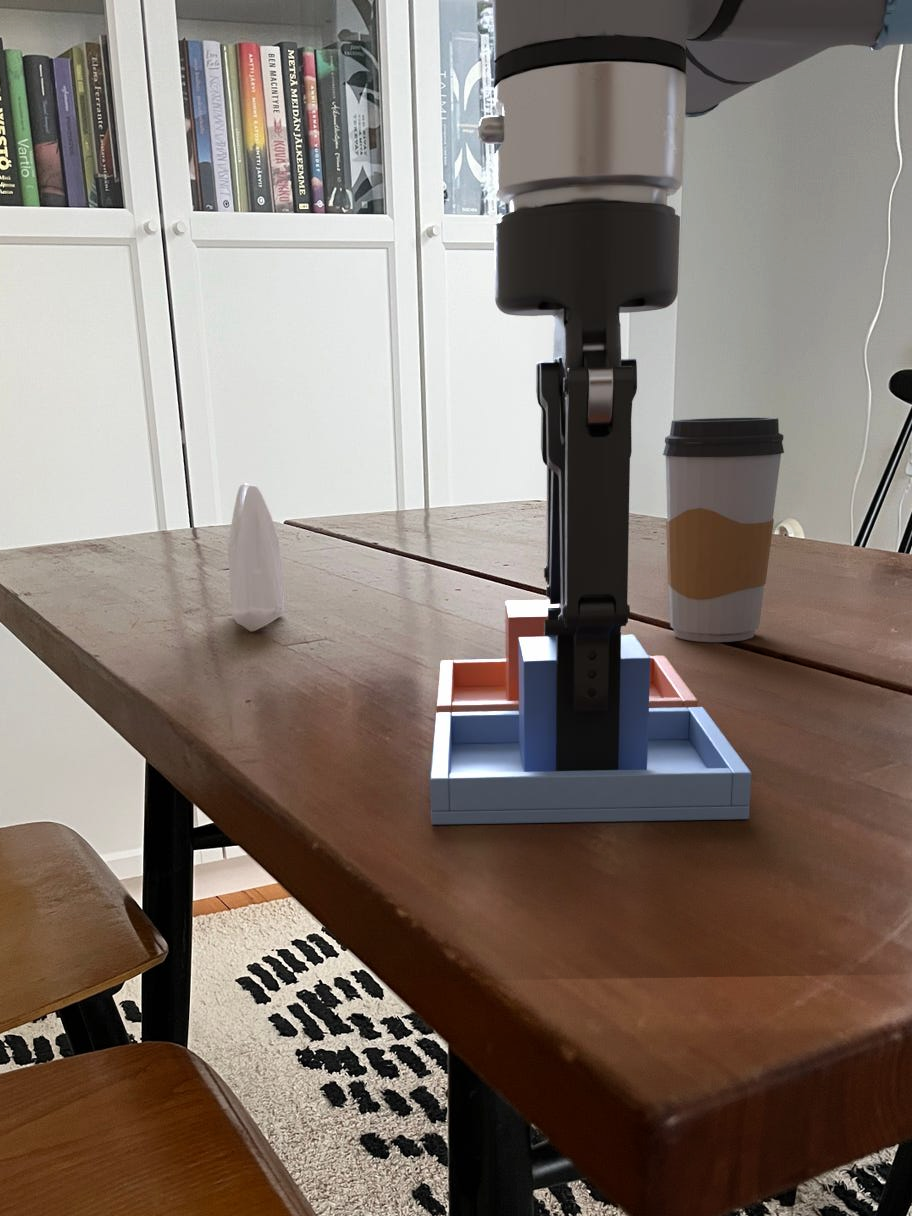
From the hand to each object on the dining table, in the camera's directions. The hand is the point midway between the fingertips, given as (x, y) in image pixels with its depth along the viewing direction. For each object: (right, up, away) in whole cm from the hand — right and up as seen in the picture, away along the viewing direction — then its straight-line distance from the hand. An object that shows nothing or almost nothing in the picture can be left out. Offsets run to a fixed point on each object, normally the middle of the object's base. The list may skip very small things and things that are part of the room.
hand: (580, 757), depth 59 cm
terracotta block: (0, +4, +12) cm, 13 cm away
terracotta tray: (0, +3, +13) cm, 13 cm away
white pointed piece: (-21, +14, +43) cm, 50 cm away
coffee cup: (+14, +11, +34) cm, 38 cm away
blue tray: (0, -1, 0) cm, 1 cm away
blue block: (0, 0, 0) cm, 0 cm away
